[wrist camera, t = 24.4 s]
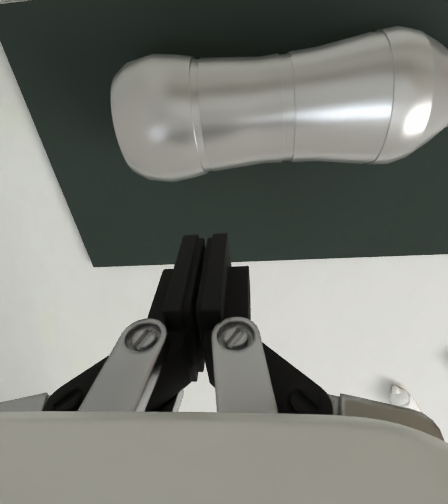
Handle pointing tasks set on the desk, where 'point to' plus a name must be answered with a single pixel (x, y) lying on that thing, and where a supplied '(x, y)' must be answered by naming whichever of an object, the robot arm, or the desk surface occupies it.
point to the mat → (228, 180)
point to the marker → (402, 398)
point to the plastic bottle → (282, 105)
